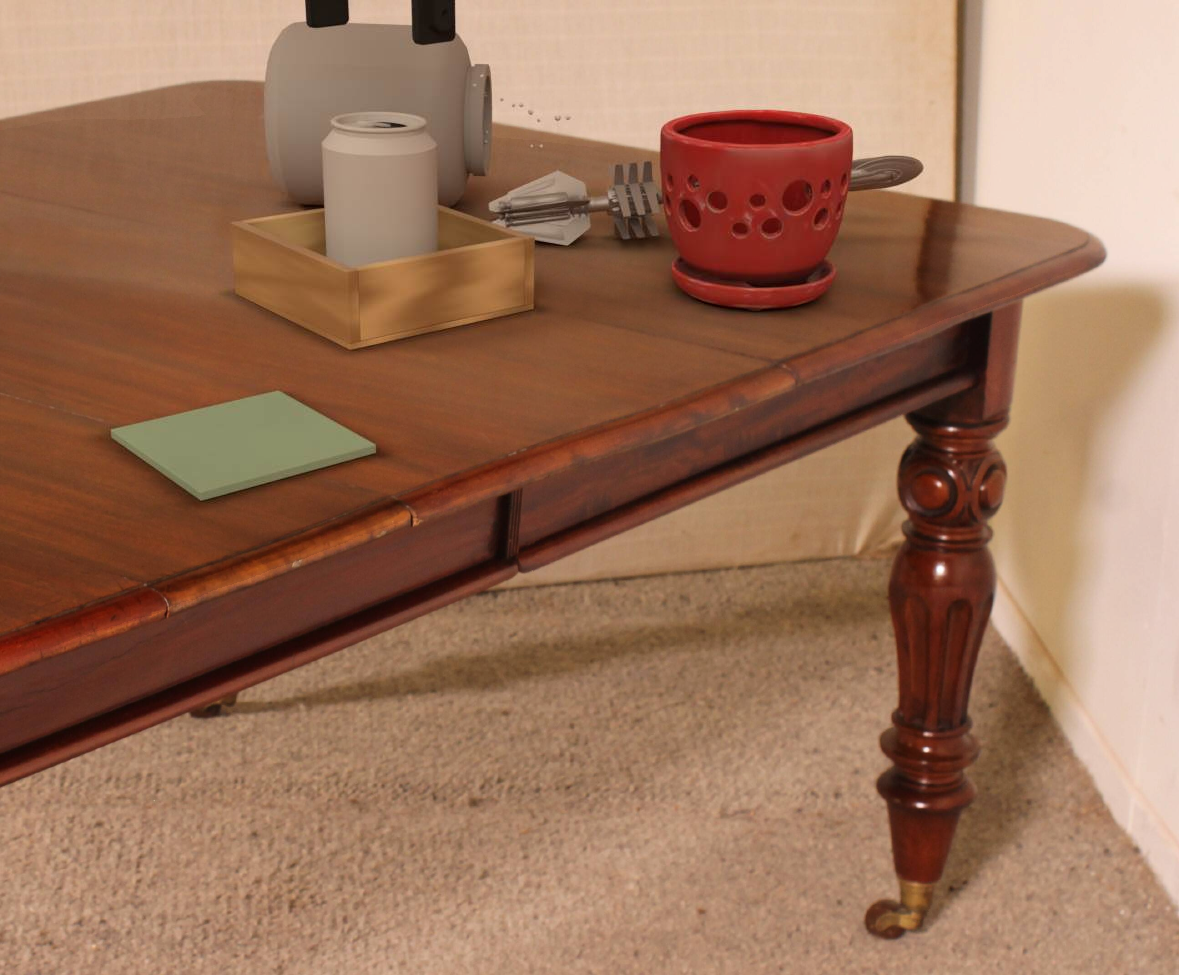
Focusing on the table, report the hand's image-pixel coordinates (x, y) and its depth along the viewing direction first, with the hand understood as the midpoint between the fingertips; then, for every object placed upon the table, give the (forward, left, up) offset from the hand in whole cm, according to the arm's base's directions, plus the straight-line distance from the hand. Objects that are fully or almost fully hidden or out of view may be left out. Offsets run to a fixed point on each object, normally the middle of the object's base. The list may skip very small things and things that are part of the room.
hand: (379, 33), depth 95 cm
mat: (-20, -17, -18) cm, 32 cm away
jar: (+19, +22, -18) cm, 34 cm away
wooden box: (0, 0, -18) cm, 18 cm away
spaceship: (+30, -1, -18) cm, 35 cm away
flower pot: (+22, -13, -18) cm, 31 cm away
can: (0, 0, -17) cm, 17 cm away
